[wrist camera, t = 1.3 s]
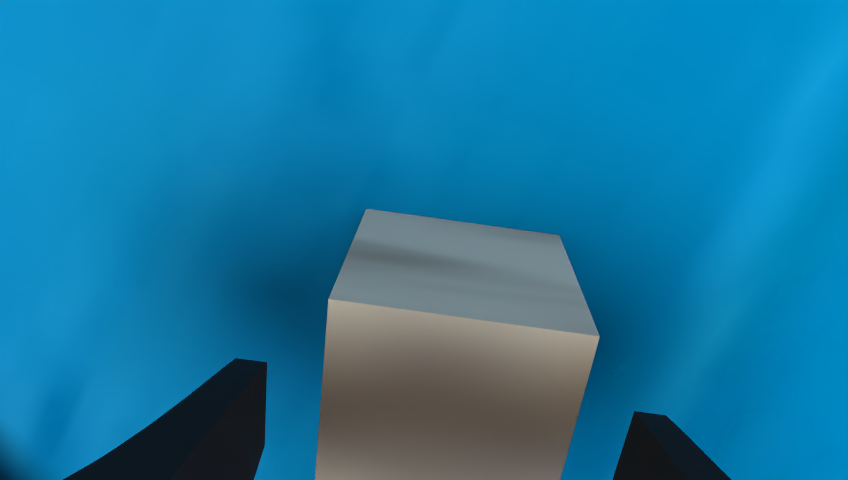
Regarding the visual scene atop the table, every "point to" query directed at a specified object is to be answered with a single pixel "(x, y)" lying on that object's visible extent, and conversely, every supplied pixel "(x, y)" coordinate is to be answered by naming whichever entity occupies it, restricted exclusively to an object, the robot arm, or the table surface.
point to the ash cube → (452, 354)
